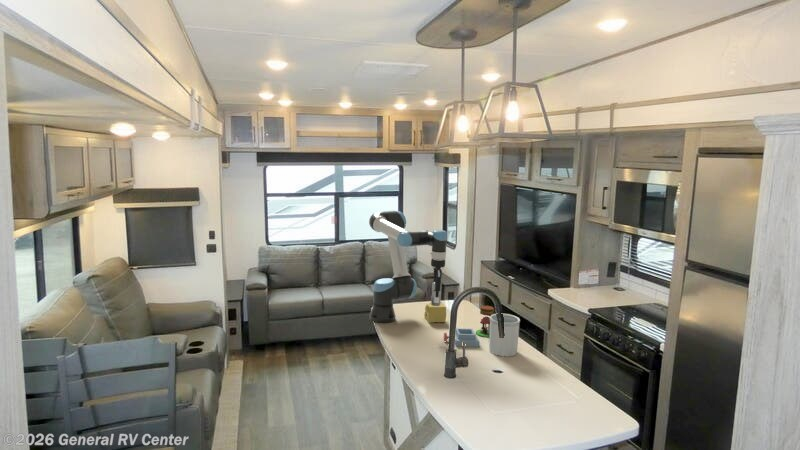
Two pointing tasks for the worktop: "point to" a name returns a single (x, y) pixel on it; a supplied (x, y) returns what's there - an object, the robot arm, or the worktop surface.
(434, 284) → the pipe stub
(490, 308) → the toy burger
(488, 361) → the worktop surface
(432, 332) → the worktop surface
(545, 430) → the worktop surface
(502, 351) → the utensil holder
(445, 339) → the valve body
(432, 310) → the cheese
